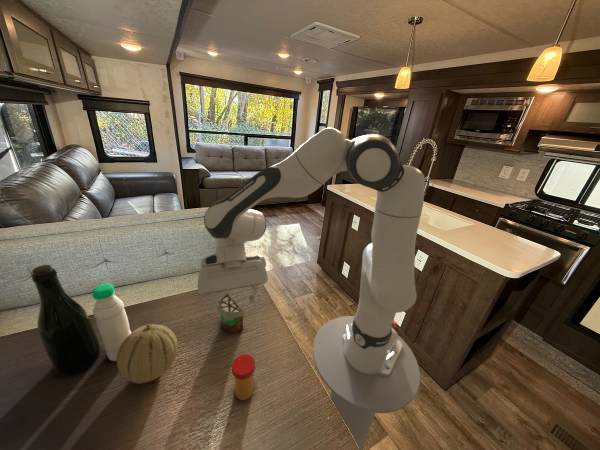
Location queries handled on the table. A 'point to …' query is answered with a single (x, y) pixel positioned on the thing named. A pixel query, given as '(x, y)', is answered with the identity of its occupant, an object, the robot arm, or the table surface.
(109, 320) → the white milk bottle
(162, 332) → the cantaloupe
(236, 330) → the food container
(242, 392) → the orange cylinder
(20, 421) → the table surface
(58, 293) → the dark green glass bottle
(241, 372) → the lid
